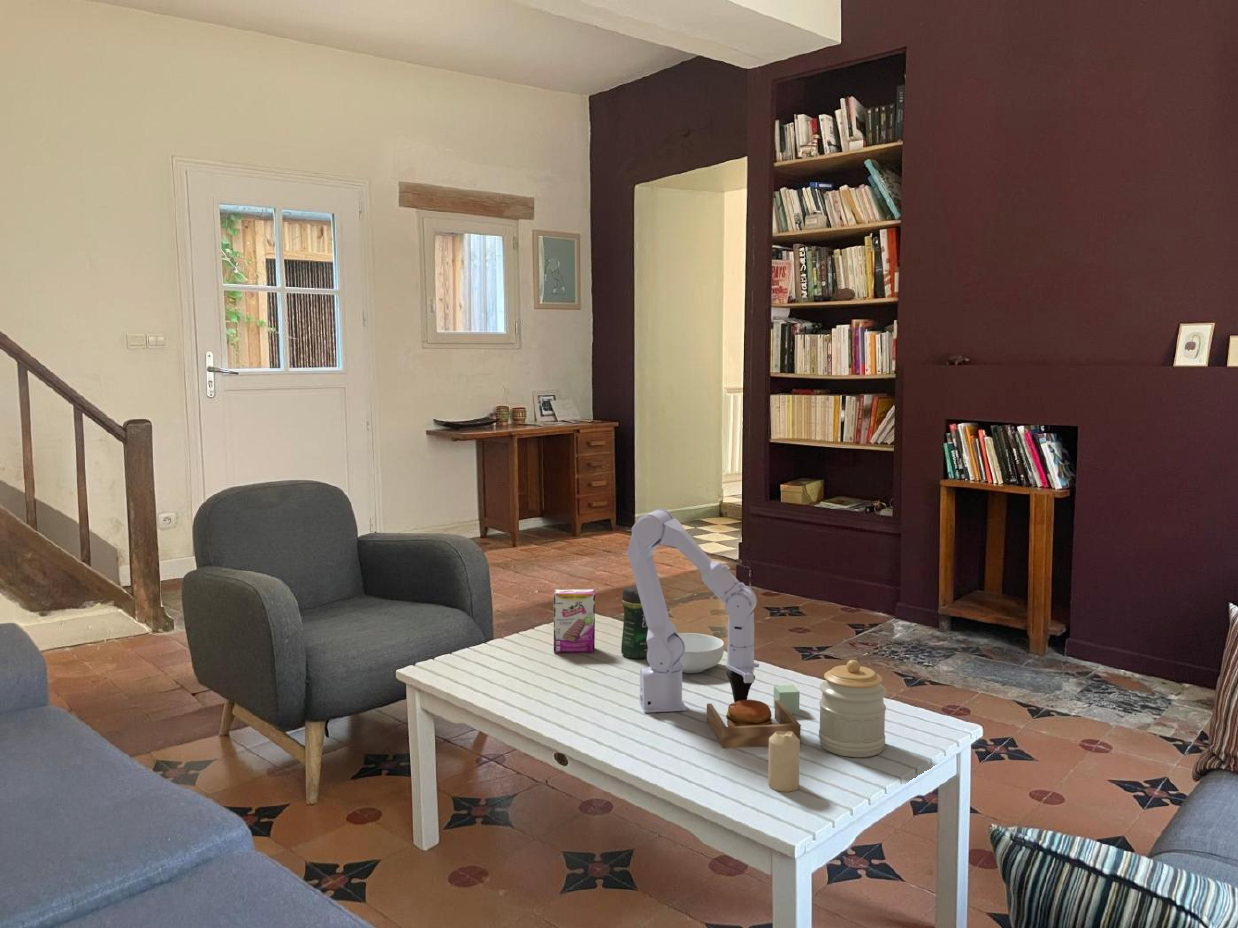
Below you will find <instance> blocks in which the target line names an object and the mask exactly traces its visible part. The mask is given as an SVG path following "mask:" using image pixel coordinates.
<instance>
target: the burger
mask: <svg viewBox="0 0 1238 928" xmlns="http://www.w3.org/2000/svg"><path fill="white" fill-rule="evenodd" d="M725 718H726V720H727V721H726V722H727V723H726V724H727V725H726V726H727V727H734V726H753V725H773V724H772V711H771V709H770V707H769V705H768V704H767V703H765V702H762V701H760V700H756V699H755V700H754V699H747V700H739V701H737V702H732V703H730V704H729V705H728V707H727V711H726V716H725Z"/></svg>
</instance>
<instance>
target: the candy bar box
mask: <svg viewBox="0 0 1238 928" xmlns="http://www.w3.org/2000/svg"><path fill="white" fill-rule="evenodd" d="M595 591H596V590H595V589H593V588H592V589H591V588H589V589H554V591H553V653H554V654H563V653H565V654H569V653H595V651H596V650H595V649H596V648H595V644H596V640H595V639H596V633H595V631H596V629H595V628H596V626H595V625H596V619H595V618H596V592H595Z"/></svg>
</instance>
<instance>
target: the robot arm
mask: <svg viewBox="0 0 1238 928" xmlns="http://www.w3.org/2000/svg"><path fill="white" fill-rule="evenodd" d="M659 545H661V546H668V547H674V548H676V549H677V550H678V551H679V552H680V553H681V554H682V555H683V556H684V557H685V558H686V559H687V560H688V561H689V562H690V563H691V564H692V565H694V566H695V568H696V569H697V570H699V571H700V573H701V581H702V582H703V584H704V585H706V586H707V587H708V588H709V590H710V591H711V592H712V593H713V594H714V595H715V596H716V597H717V598H718V599H719V600H720V601H721V602H722V603H724V611H725V612H726V614H727V615H728V620H727V621H728V622H727V651H726V653H727V654H726V655H727V656H726V657H727V660H726V666H725V667H726V668H727V669H728V670H727V671H726V672H725V674H726V676H727V679H728V681H729V684H730V687H731V691H732V697H733V703H735V702H737V701H739V700H748V697H749V692H750V689H751V686H752V685H753V684H754V683H755V679H756V675H755V674H754V673H755V668H759V667H760V664H759V662H758V661H754V660H755V622H754V621H755V616H754V615H755V612H754V611H753V610H755V608H756V606H757V602H758V599H757V594H756V593H755V592H754V591H753V588H751V587H749V586H747V585H745V583H744V582H742V581H741V582H740V581H739V580H738V579H737V578H736V576H734V574H732V573H731V571H729V570H730V569H731V567H730V566H729V565H728V564H723V563H722V562H720V561H713V560H712V559H711V558H710V557H709V556H708V555H707V554H706V552H705V551H704V550H703V549H702V547H701V546H700V545H699V544H698V543H697V542H696V541H695V539H693V537H692V536H691V535H690V533H688V531H687V530H686V529H685V528H684V527H683V525H682V524H681V522H680V521H679V519H677V518H675V517H674V516H673V515H672V513H671V512H670V511H668V510H666V509H665V508H657V509H654V510H653V511H651V512H650V513H647V514H643V515H641V516H640V517H639V518H637V520H636V522H635V523H634V524H633V526H632V527H631V536H630V540H629V544H628V548H627V556H628V561H629V563H630V567H631V572H632V574H633V577H634V582H635V587H636V586H637V590H638V593H639V597H640V601H641V604H642V608H643V612H644V615H645V619H646V623H647V626H648V633H647V640H646V641H647V645H648V651H647V657H646V660H647V663H648V665H649V666H648V667H643V668H640V671H639V703H640V705H641V708H642V710H643V712H644V713H645V714H647V713H666V712H686V711H687V710H688V709H687V706H686V705H685V703H684V702H683V672H682V664H681V661H680V658H681V657H682V656H683V654H684V652H685V644H684V641H683V640H682V638H681V637H680V636H679V635H678V633H679V632H678V630H677V627H676V625H674V623H673V622H672V621H671V619H670V614H669V611H668V607H667V604H666V601H665V596H664V593H663V589H662V586H661V582H660V578H659V575H658V574H659V573H658V569H657V567H656V565H655V560H654V557H653V556H654V555H653V554H654V552H655V550H656V549H657V548H658V546H659Z"/></svg>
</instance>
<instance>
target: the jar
mask: <svg viewBox="0 0 1238 928" xmlns="http://www.w3.org/2000/svg"><path fill="white" fill-rule="evenodd" d="M823 677H824V679H825V680H824V681H822V682H821V683H820V684H819V690H820V691H821V699H820V700H819V702H818V703H819V730H818V738H819V744H820V746H821V747H822V748H823V749H825V750H826V751H827V752H830V753H833V754H835V755H839V756H843V757H848V758H849V757H850V758H868V757H869V758H870V757H873V756H877V755H879V754H880V753H882V752H883V751H884V747H885V744H886V735H885V729H886V728H885V727H886V725H885V723H886V711H887V707H886V704H885V703H884V697H885V696H887V689H886V688H885V687H884V686H883V685H882V682H883V678H882V676H881V675H880V674H878V673H877V672H875V670H873V669H871V668H869V667H866V666H862V665H861V664H860V662H859V660H855V659H850V660H848V661H847V662H846V664H845V665H844V664H843V665H838V666H833V668H831V669H830V670H829V669H828V670H827V671H826V672H825V673H824V675H823Z"/></svg>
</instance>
